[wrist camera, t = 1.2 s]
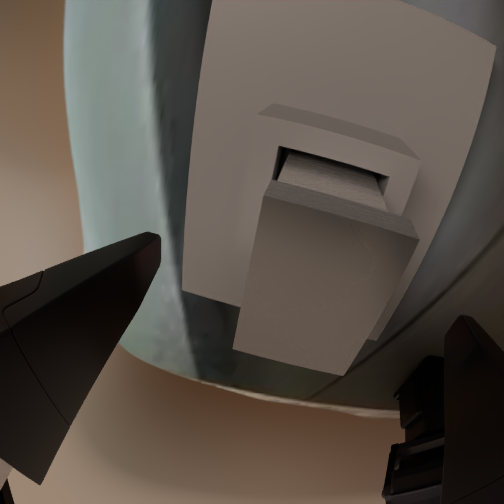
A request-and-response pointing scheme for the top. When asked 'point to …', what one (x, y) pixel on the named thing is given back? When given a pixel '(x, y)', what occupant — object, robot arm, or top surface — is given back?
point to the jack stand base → (326, 119)
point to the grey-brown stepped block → (321, 265)
